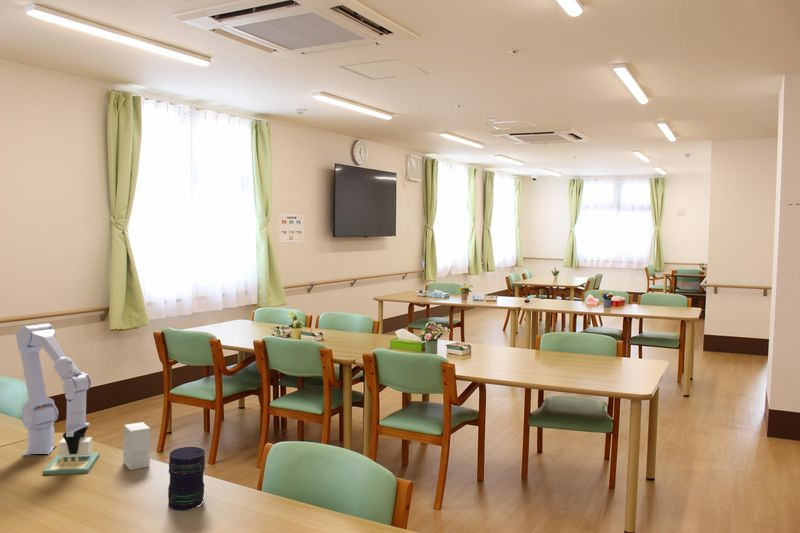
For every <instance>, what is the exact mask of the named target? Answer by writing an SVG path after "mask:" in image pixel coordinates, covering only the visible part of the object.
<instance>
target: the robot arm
mask: <svg viewBox="0 0 800 533" xmlns="http://www.w3.org/2000/svg"><path fill="white" fill-rule="evenodd" d="M15 336H16V337H15V338H16V342H17V347H18V351H19V352H20V357H21V362H22V363H21V364H22V370H23V375H24V379H25V380H24V381H25V385H26V391H27V396H28V401H27V402H26V403H25V404H23V406H22V407H21V411H22V412H21V413H22V414H21V421H22V424H23V426H24V427H25V428H26V429H27V449H26V451H25V452H23V454H22V456H30V455H29V454H48V455H49V453H50V452H51V453H52V452H53V450H54V449H55V448H54V447H52V446H53V445H54V444H55V427H54V425H55V422H56V421H57V420H58V418H59V410H58V408H57V406H56V404H55V400H54V399H53V398H50V397H48V396H47V392H46V387H45V381H44V375H43V369H42V364H41V363H42V362H41V359H40V353H39V352H40V351H41V349H43V351H45V352H46V354H47V355H48V356H49V357H50V359H52V361H53V363H54V366H53V368H54V370H55V372H56V373H57V375H58V376H59V378H60V379H61V380H62V382H63V384H62V390H63V392H64V394H65V395H64V397H65V399H66V418H65V419H66V420H65V421H66V424H65V429H66V431H65V432H63V433H62V437H63V438H64V439H65V441H66V443H67V446H68V450H69V454H77V451H78V446H79V441H80V438H81V437H85V435H86V433H87V430H88V429H89V426H90V422H86V420H87V391H88V390H89V389H90V388H91V385H92V381H91V378H90V377H89V374H88V373H84V372H83V371H80V369H79V368H78V367H77V365H76V364H75V363H74V361H73V360H72V358H71V357H69V356H68V357H67V356H65V354H64V352H63V351H62V348H61V347H60V345H59V343H58V341H57V340H56V338H55V337H56V330H55V329H54V327H53V325H52V324H51V323H47V322H46V323H39V324H33V325H31V324H30V325H22V326H20V327H19V328H18V330H17V332H16V334H15ZM63 438H62V439H63ZM53 448H54V449H53ZM25 453H26V454H25Z"/></svg>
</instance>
